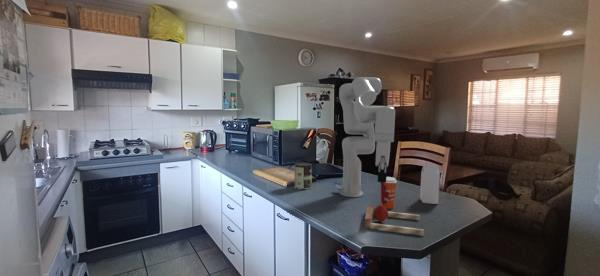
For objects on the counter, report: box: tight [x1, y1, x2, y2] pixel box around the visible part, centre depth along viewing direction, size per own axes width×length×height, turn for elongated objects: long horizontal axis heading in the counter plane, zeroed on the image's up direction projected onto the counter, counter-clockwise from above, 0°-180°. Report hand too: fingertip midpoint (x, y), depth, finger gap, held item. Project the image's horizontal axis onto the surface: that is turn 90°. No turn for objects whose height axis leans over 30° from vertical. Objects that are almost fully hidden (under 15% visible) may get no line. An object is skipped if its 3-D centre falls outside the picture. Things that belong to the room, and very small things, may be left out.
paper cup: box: [380, 176, 398, 210], centre depth 136 cm, size 8×8×14 cm
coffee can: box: [293, 162, 313, 190], centre depth 168 cm, size 10×10×14 cm
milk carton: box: [419, 163, 441, 205], centre depth 144 cm, size 7×7×19 cm
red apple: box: [373, 203, 389, 223], centre depth 118 cm, size 6×6×8 cm
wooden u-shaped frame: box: [364, 204, 425, 236], centre depth 117 cm, size 21×16×4 cm
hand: (382, 178), depth 117 cm, fingers open, 9 cm apart
